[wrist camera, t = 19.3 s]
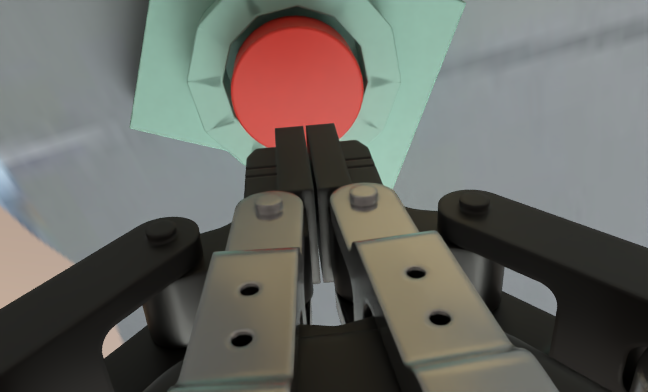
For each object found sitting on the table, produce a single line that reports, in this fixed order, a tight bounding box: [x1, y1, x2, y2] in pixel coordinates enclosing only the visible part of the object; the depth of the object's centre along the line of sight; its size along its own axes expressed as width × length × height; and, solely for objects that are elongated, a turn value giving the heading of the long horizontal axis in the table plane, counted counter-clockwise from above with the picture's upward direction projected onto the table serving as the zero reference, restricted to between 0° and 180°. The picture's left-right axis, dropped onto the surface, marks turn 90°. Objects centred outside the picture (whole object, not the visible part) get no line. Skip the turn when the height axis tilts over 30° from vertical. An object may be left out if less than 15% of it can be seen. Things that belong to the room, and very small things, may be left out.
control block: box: [130, 0, 466, 189], centre depth 22 cm, size 11×8×4 cm
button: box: [231, 15, 364, 148], centre depth 20 cm, size 4×4×2 cm
